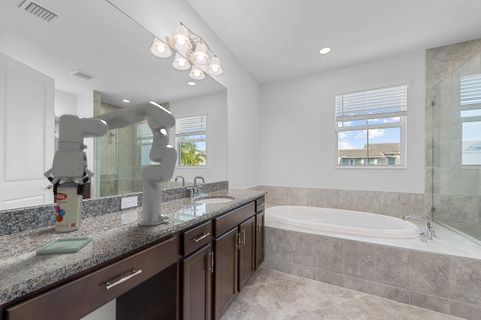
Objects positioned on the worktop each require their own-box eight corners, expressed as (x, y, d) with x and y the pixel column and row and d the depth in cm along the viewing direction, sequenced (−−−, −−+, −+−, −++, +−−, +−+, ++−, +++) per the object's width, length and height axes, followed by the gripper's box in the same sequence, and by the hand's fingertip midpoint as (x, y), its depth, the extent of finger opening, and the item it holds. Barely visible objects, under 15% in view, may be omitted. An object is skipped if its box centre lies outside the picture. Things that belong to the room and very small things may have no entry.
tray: (92, 240, 86) (92, 236, 86) (77, 252, 74) (77, 247, 74) (57, 242, 83) (57, 238, 83) (35, 255, 71) (36, 250, 72)
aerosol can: (50, 232, 77) (53, 177, 78) (71, 227, 83) (73, 176, 84) (62, 234, 74) (64, 178, 75) (82, 229, 81) (85, 177, 82)
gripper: (100, 149, 86) (98, 193, 85) (50, 147, 82) (47, 193, 81) (92, 147, 79) (90, 195, 78) (36, 145, 74) (34, 196, 74)
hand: (68, 194), depth 79 cm, fingers closed on aerosol can, 6 cm apart
